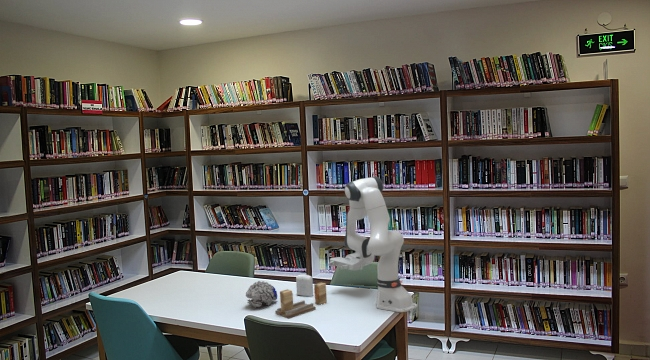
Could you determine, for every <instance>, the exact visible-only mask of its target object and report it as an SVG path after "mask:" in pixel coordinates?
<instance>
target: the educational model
mask: <svg viewBox="0 0 650 360" xmlns="http://www.w3.org/2000/svg"><path fill="white" fill-rule="evenodd" d="M245 297H246V298H248V299H246V300H247V302H246V303H247V304H248V305H249V306H251V307H254V309H256V308H260V307H261V306H263V303H264V304H265V305H266V306H268V307H269V306H270V305H271V304H272V303H273V301H276V300H277V299H278V292H277V290H276V288H275V287H274V285H272V284H271V283H269V282H267V281H266V282H265V281H261V280H258V281H255V282H254V283H253V284H251V285H250V286H249V287H248V289H247V290H246V292H245Z"/></svg>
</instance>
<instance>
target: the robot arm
mask: <svg viewBox="0 0 650 360" xmlns="http://www.w3.org/2000/svg"><path fill="white" fill-rule="evenodd" d="M383 190H384V183H383V181H382V179H381V178H380V177H378V176H371V177H366V178H360V179H357V180H354V181H350V182H347V183H346V184H345V186H344V193H345V197H346V198H347V200H348V203H349V204H348V205H349V210H348V211H347V213H346V216H345V218H346V219H345V236H344V240H343V241H344V246H345V248H347V249H348V250H352V251H355V252H353V253H350V254H347V255H346V256H345V257H340V256H337V257H331V258H330V259H329V262H328V263H327V265H328V267H337V268H339V270H349V271H359V270H360V271H361V270H362V271H363V267H365V266H369V265H371V264H372V263H374V261H375V257H376V256H379V257H380V258H379V259H378V261H377V264H376V267H377V269H376V270H377V278H376V280H377V281H376V286H377V297H376V303H375V305H376V309H379V310H386V311H391V312H397V313H405V312H410V311H412V310H415V309H417V307H418V304H417V303H415V302H413V296H412V294H411V293H410V292H408V290H406V288H405V287H404V286H402V284H403V283H404V282H403V280H400V277H399V259H400V253H401V249H402V246H403V245H404V244H405V243H404V242H405V237H404V236H403V234H402V233H401V231H397V230H389V223H390V221H391V218H390V215H389V210H388V207H387V205H386V201H385V199H384V196H383V194H382V192H383ZM366 217H367V218H368V222H369V227H370V228H369V229H370V232H369V233H370V234H369V235H370V237H365V236H364V235H361V234H358V233H357V229H356V228H357V227H356V224H357V221H360V220H363V219H365V218H366Z"/></svg>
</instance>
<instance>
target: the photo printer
mask: <svg viewBox="0 0 650 360" xmlns="http://www.w3.org/2000/svg"><path fill="white" fill-rule="evenodd" d="M295 277H296V278H295V280H296V281H295V282H296V294H297V296H303V297H309V298H310V297H311V298H312V297H313V296H314V284H313V283H314V281H313V280H314V279H313V276H311V275H309V274H304V273H303V274H297V275H296V276H295Z"/></svg>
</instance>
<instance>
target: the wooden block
mask: <svg viewBox="0 0 650 360" xmlns="http://www.w3.org/2000/svg"><path fill="white" fill-rule="evenodd" d="M313 294H314V302H315V303H314V304H316V305H318V304H319V306H321V304H322V305H324V303H325V304H327V303H328V297H327V283H326V282H321V281H320V282H318V283H314V284H313Z"/></svg>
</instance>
